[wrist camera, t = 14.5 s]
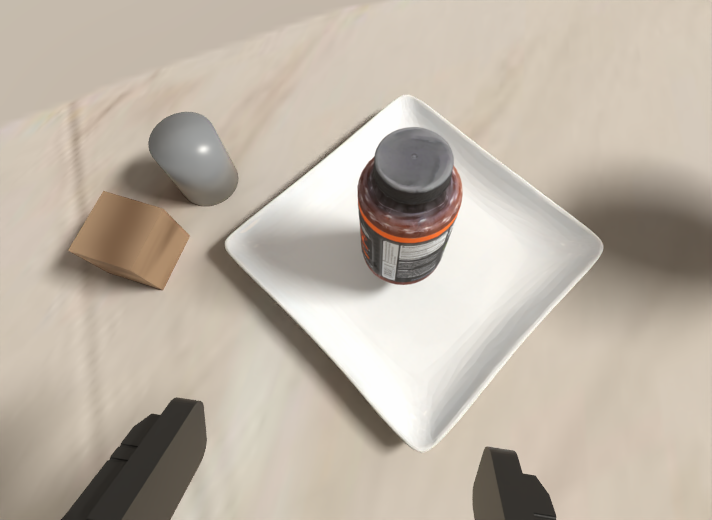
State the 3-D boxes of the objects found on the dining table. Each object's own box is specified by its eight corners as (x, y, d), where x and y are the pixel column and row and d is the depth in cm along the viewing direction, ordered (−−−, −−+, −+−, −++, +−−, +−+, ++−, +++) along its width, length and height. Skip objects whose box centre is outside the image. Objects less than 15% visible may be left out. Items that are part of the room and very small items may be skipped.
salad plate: (592, 257, 34) (615, 241, 31) (417, 457, 29) (423, 462, 26) (403, 112, 40) (406, 85, 37) (230, 259, 35) (216, 243, 32)
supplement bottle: (358, 219, 32) (350, 114, 22) (435, 212, 32) (463, 103, 22) (365, 291, 30) (359, 212, 19) (447, 284, 30) (486, 201, 19)
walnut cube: (109, 272, 34) (67, 250, 29) (137, 220, 36) (103, 190, 31) (163, 290, 33) (130, 270, 29) (190, 236, 35) (163, 208, 30)
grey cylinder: (170, 185, 37) (134, 144, 31) (210, 147, 38) (183, 101, 32) (209, 216, 36) (180, 179, 30) (249, 176, 37) (228, 133, 31)
